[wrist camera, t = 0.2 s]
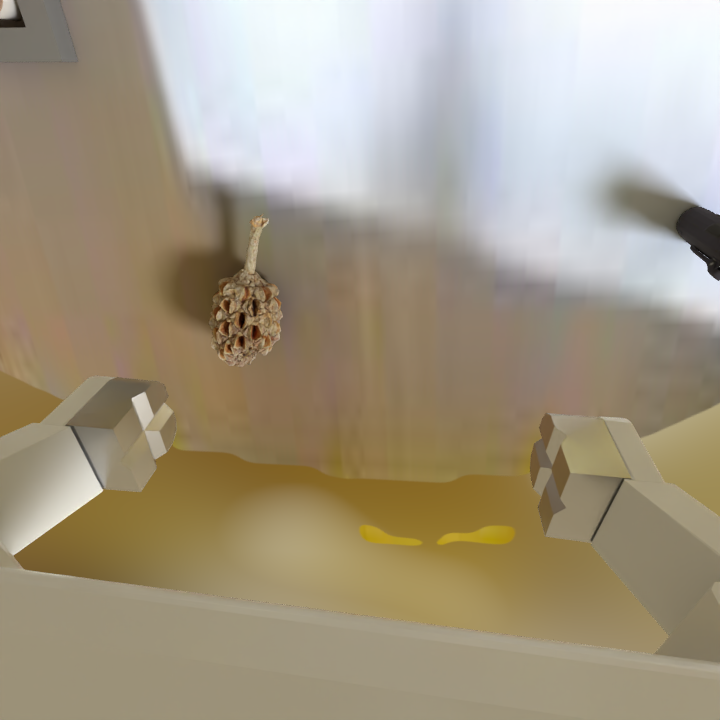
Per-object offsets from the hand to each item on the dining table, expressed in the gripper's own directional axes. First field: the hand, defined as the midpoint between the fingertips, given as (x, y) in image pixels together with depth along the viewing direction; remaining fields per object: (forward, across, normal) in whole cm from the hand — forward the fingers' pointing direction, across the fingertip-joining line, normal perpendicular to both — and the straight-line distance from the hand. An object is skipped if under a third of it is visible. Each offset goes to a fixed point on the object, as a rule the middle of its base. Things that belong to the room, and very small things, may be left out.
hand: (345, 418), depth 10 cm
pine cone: (+48, +20, +19) cm, 55 cm away
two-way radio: (+47, -32, +10) cm, 57 cm away
